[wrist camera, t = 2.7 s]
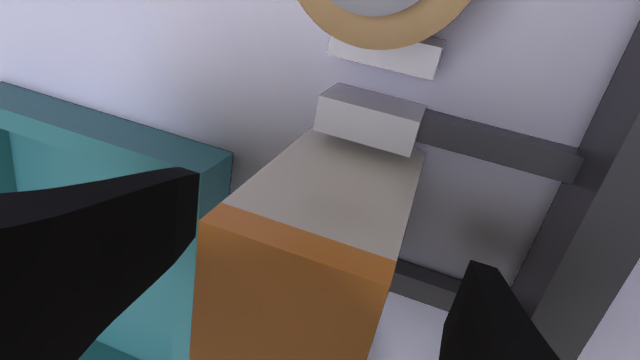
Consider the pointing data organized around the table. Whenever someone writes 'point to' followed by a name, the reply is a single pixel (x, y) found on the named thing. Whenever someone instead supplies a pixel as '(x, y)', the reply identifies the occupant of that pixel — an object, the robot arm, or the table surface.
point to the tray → (104, 163)
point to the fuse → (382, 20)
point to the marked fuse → (303, 253)
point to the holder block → (530, 156)
